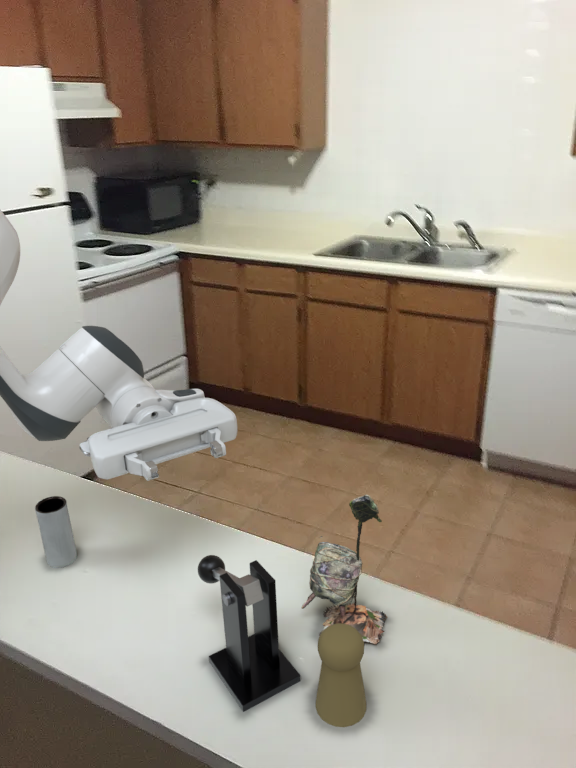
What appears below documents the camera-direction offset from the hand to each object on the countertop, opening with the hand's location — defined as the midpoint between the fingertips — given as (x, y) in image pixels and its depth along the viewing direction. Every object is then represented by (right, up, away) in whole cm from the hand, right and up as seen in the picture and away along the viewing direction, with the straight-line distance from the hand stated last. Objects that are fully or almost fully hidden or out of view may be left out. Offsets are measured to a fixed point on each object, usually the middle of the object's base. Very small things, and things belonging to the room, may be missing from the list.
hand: (187, 462), depth 85 cm
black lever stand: (+9, -26, -2) cm, 27 cm away
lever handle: (+6, -16, -2) cm, 17 cm away
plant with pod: (+20, -23, +5) cm, 31 cm away
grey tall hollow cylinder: (-23, -18, +20) cm, 35 cm away
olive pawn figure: (+19, -28, -7) cm, 34 cm away
